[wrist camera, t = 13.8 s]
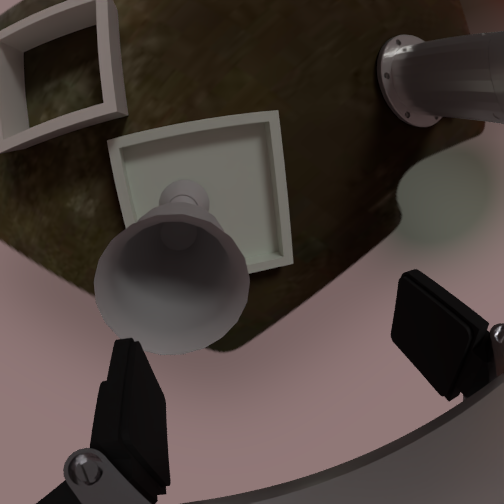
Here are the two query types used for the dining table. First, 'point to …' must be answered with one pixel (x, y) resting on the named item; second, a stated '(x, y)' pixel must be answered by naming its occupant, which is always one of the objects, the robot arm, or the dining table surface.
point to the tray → (214, 178)
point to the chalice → (173, 276)
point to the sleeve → (44, 30)
